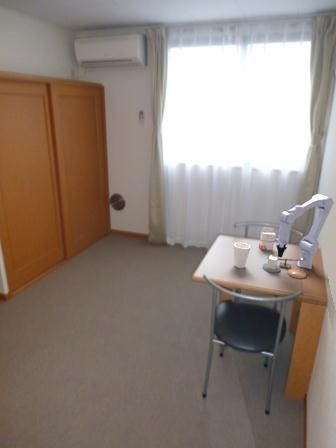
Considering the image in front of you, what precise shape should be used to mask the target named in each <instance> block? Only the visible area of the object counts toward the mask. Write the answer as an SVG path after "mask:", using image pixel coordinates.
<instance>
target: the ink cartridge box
mask: <svg viewBox="0 0 336 448" xmlns="http://www.w3.org/2000/svg"><path fill="white" fill-rule="evenodd" d="M274 229H275V228H274V227H268V226H267V227H265V226H264V227H263V226H262V228H261V231H260V238H259V244H258V248H259V249H260V250H261V251H274V245H275V241H276V236H277V235H276V233H275V232H274Z"/></svg>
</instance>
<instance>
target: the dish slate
mask: <svg viewBox="0 0 336 448" xmlns="http://www.w3.org/2000/svg"><path fill="white" fill-rule="evenodd" d="M267 266H268V263H264V264H263V265H262V269H263V270H264V271H265V272H268V273H272V274H273V273H274V274H277V273H278V274H279V273H280V272H281V267H279V266H280V265H278V264H276V269H275V270H274V269H269V268H267Z"/></svg>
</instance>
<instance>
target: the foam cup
mask: <svg viewBox="0 0 336 448" xmlns="http://www.w3.org/2000/svg"><path fill="white" fill-rule="evenodd" d="M250 251H251V245H250V244H247V243H246V242H235V243H234V244H233V262H234V263H233V264H234V267H236V268H239V269H244V268H245V267H246V264H247V260H248V258H249V254H250Z"/></svg>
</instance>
